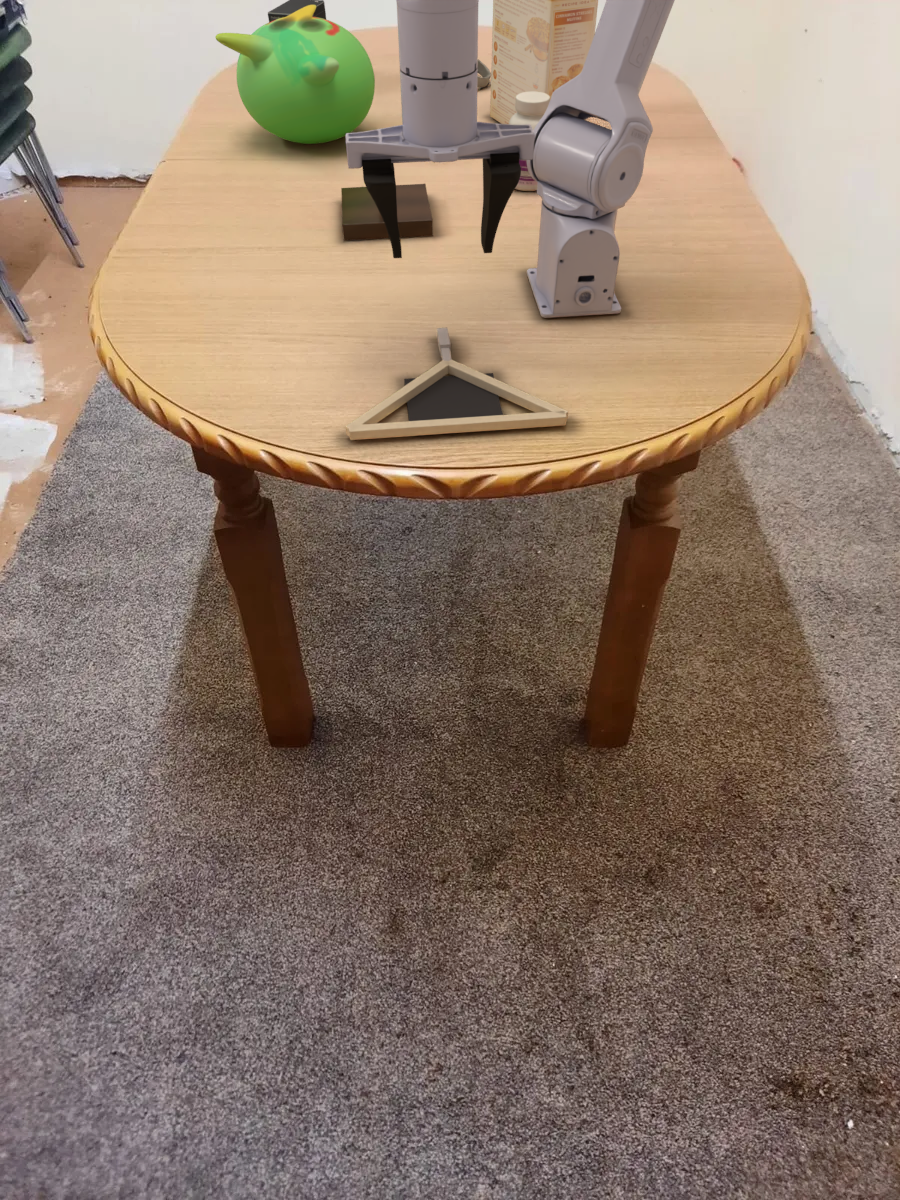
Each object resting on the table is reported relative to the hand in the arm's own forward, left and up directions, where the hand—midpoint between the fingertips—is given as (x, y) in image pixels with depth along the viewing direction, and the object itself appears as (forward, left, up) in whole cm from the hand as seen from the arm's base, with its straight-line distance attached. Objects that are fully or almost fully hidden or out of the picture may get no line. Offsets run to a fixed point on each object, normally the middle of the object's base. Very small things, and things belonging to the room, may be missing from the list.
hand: (441, 250), depth 70 cm
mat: (-9, 0, -9) cm, 13 cm away
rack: (+28, +4, -9) cm, 30 cm away
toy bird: (+54, +13, -10) cm, 57 cm away
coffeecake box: (+54, -18, -10) cm, 58 cm away
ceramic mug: (+76, -9, -10) cm, 77 cm away
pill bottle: (+36, -14, -10) cm, 40 cm away
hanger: (-6, 0, -9) cm, 11 cm away
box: (+76, +14, -10) cm, 78 cm away
